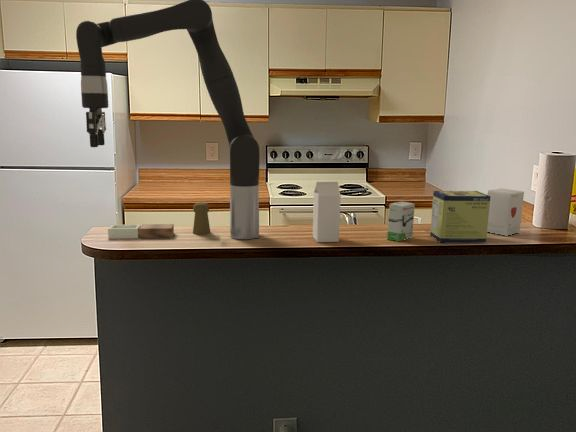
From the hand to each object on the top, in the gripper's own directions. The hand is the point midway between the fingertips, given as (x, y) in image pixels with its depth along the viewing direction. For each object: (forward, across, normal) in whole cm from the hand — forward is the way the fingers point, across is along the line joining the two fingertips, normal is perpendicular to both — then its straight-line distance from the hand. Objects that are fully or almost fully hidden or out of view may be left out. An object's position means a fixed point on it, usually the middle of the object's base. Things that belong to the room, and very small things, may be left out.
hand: (97, 146), depth 161 cm
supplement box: (+30, 0, -135) cm, 138 cm away
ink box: (+30, -6, -96) cm, 101 cm away
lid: (+28, -1, -17) cm, 33 cm away
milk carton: (+30, -6, -71) cm, 77 cm away
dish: (+29, -1, -7) cm, 30 cm away
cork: (+30, +2, -31) cm, 43 cm away
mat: (+29, -1, -17) cm, 34 cm away
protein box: (+30, -8, -115) cm, 119 cm away
